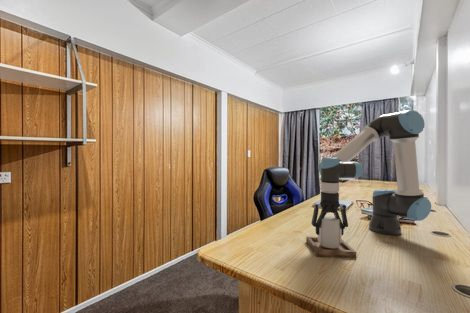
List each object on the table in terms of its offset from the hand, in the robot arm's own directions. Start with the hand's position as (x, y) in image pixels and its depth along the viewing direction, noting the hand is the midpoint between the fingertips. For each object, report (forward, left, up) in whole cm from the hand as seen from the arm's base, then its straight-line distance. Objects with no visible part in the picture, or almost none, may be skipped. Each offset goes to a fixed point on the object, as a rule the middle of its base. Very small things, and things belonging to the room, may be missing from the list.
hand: (329, 241), depth 100 cm
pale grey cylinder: (0, 0, -1) cm, 1 cm away
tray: (0, 0, -3) cm, 3 cm away
